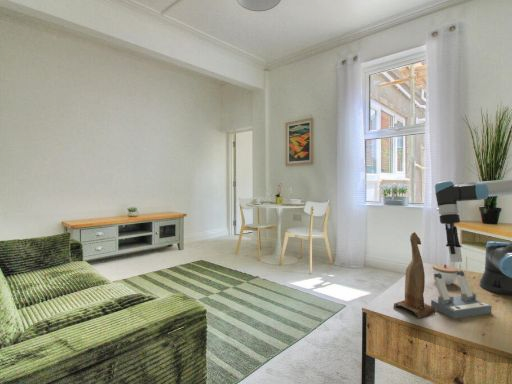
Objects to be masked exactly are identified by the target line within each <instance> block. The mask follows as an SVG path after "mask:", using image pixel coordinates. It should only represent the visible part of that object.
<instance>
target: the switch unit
mask: <svg viewBox="0 0 512 384" xmlns="http://www.w3.org/2000/svg"><path fill="white" fill-rule="evenodd" d="M471 292H472V295H473V297H474V298H473V299H467V295H466V294H463V293H462V292H461V295H459V296H453V295H450V294H449V297H450V299H451V302H445V303H444V298H443V297H441V296H440V295H438V298H437V299H436V298H435V299H431V300H430V306H432V307H434V308H435V311H438V312H440V313H442V314H443V315H446V316H447V317H449V318H451V319H452V320H457V319H462V318H464V319H465V318H468V317H475V316H481V315H489V314H492V305H491V304H488V303H486V302H483V301H482V300H479V299H477V293H475V292H473V291H471Z"/></svg>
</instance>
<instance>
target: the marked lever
mask: <svg viewBox="0 0 512 384" xmlns="http://www.w3.org/2000/svg"><path fill="white" fill-rule="evenodd" d="M456 274H457V275H456V276H457V279H456V280H457V281H458V284H459V287H460V289H461V293H463V294H466V295H467V299H473V298H474V297H473V295H472V292H473V291H472V289H471V287H470V285H469V281H468V279H467V276H466V273H465V272H464V271H463V270H459V269H458V271H457V272H456Z"/></svg>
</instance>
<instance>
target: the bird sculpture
mask: <svg viewBox="0 0 512 384" xmlns="http://www.w3.org/2000/svg"><path fill="white" fill-rule="evenodd" d="M409 237H410V238H409V241H410V245H411V260H410V262H409V264H408V265H407V267H406V269H405V278H404V279H405V281H404V300H401V301H397V302H394V303H393V307H394V308H395V307H397V306H401V307H403V308H405V309H408V310H410V311H412V312H413V313H414V314H415V315H416V317H417V319H419V320H420V319H421V318H425V317H428V316H430V315H432V314H436V309H435V308H434V307H432V306H431V304H428V303H425V297H424V293H425V282H426V281H425V268H424V262H423V259H422V256H421V252H420V248H419V246H418V245H422V242H421V238H420V237H419V236H418V234H417V232H414V231H413V232H412V233H411V234H410V236H409Z"/></svg>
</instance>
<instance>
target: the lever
mask: <svg viewBox="0 0 512 384" xmlns="http://www.w3.org/2000/svg"><path fill="white" fill-rule="evenodd" d="M433 280H434V282H435V285H436V289H437V292H438V296H441V297H443V298H444V303H445V302H451V299H450V297H449V295H450V294H449V291H448V288H447V285H446V284H445V282H444V279H443V277H442V275H441V274H440V273H435V274H434V275H433Z"/></svg>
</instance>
